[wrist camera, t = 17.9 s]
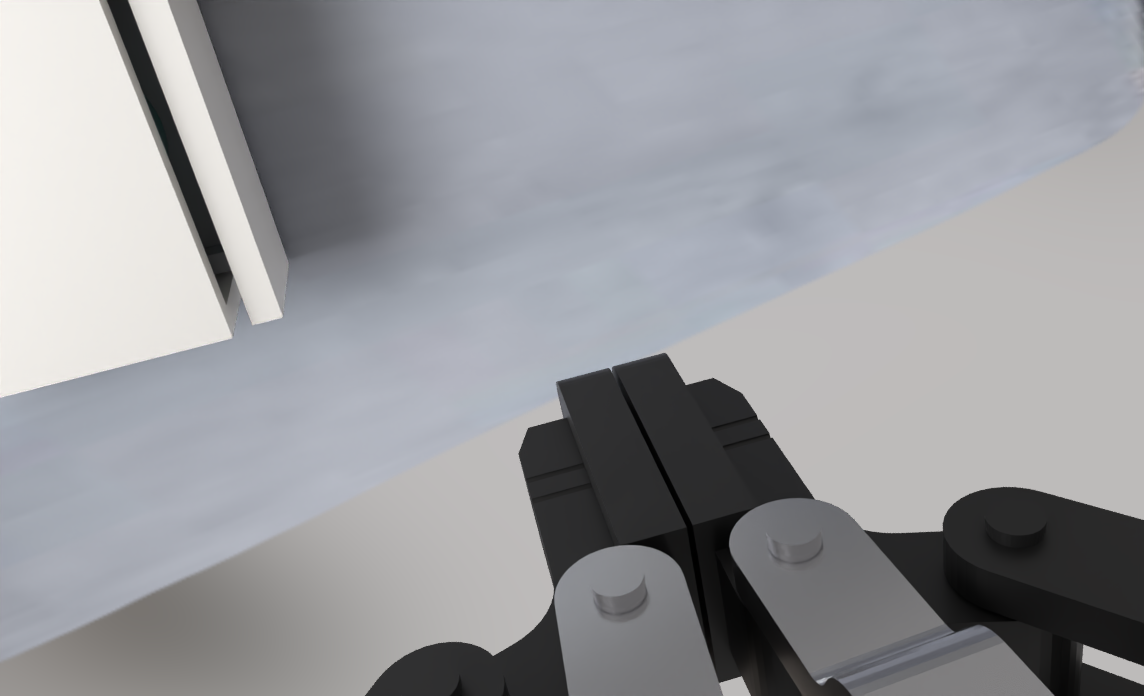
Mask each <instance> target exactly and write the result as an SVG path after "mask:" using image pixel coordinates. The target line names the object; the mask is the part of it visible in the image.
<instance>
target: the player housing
mask: <svg viewBox="0 0 1144 696" xmlns="http://www.w3.org/2000/svg"><path fill="white" fill-rule="evenodd" d="M240 300H241V294H240V292H239V289H238V286H237V284H236V281H235V278H234V276H233V273H232V271H227V272H223V273H219V274H215V275H214V273H213V270H212V268H211V265H210V262H209V260H208V257H207V255H206V252H205V250H204V247H203V245H202V242H201V239H200V237H199V234H198V232H197V229H196V227H195V224H194V222H193V219H192V217H191V214H190V211H189V209H188V206H187V204H186V201H185V199H184V196H183V194H182V191H181V188H180V186H179V183H178V181H177V178H176V176H175V173H174V171H173V168H172V166H171V163H170V160H169V158H168V155H167V153H166V150H165V148H164V145H163V143H162V140H161V138H160V135H159V132H158V130H157V127H156V125H155V122H154V120H153V117H152V115H151V112H150V109H149V107H148V104H147V102H146V99H145V97H144V94H143V92H142V89H141V87H140V84H139V81H138V79H137V76H136V74H135V71H134V69H133V66H132V64H131V61H130V58H129V56H128V53H127V51H126V48H125V46H124V43H123V41H122V38H121V36H120V33H119V30H118V28H117V25H116V23H115V20H114V18H113V15H112V13H111V10H110V8H109V5H108V2H107V0H0V398H1V397H5V396H9V395H12V394H16V393H20V392H24V391H28V390H32V389H36V388H40V387H44V386H48V385H52V384H56V383H59V382H63V381H67V380H71V379H75V378H79V377H83V376H87V375H91V374H95V373H99V372H102V371H106V370H110V369H114V368H118V367H122V366H126V365H130V364H134V363H138V362H142V361H146V360H149V359H153V358H157V357H161V356H165V355H169V354H173V353H177V352H181V351H185V350H189V349H192V348H196V347H200V346H204V345H208V344H212V343H216V342H220V341H224V340H228V339H232V338H233V334H234V330H235V325H236V320H237V315H238V310H239V305H240Z"/></svg>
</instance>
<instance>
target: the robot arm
mask: <svg viewBox="0 0 1144 696" xmlns="http://www.w3.org/2000/svg"><path fill="white" fill-rule="evenodd" d="M556 385H557V391H558V396H559V401H560V405H561V409H562V413H563V418H564V419H560V420H556V421H552V422H549V423H546V424H541V425H538V426H534V427H530V428H528V430H527V432H526V435H525V438H524V441H523V444H522V446H521V449H520V451H519V458H520V461H521V465H522V469H523V473H524V477H525V481H526V485H527V489H528V492H529V496H530V500H531V504H532V508H533V511H534V516H535V520H536V523H537V527H538V531H539V535H540V539H541V543H542V546H543V550H544V554H545V557H546V561H547V565H548V568H549V572H550V575H551V579H552V583H553V586H554V595H553V599H552V603H551V605H550V607H549V609H548V612H547V613H546V615H545V616H544V618H543V619H542V621H541V622H540V623H539V624H538V625H537V626H536V627H535V628H534V630H532V631H531V632H530V633H529V634H527V635H526V636H525V637H524V638H522V639H521V640H519V641H518V642H516V643H515V644H513V645H512V646H510V647H508V648H506V649H505V650H503V651H501V652H499V653H498V654H496V655H494V656H492V655H491V654H490V653H489V652H488V651H486V650H484V649H482V648H481V647H478V646H475V645H472V644H468V643H462V642H446V643H438V644H434V645H430V646H426V647H423V648H421V649H418V650H416V651H414V652H412V653H410V654H408V655H406V656H404V657H403V658H401V659H400V660H398V661H397V662H395V663H394V664H393V665H392V666H390V667H389V668H388V669H387V670H386V671H385V672H384V673H383V674H382V675H381V676H380V677H379V679H378V680H377V681H376V682H375V684H374V685H373V686H372V688H371V689H370V690H369V691H368V693H367V694H366V695H365V696H723V694H722V691H721V688H720V685H719V683H720V682H724V681H727V680H730V679H733V678H737V677H741V676H742V677H743V680H744V682H745V684H746V686H747V688H748V690H749V693H750V694H751V696H1144V685H1141V684H1139V683H1136V682H1134V681H1131V680H1128V679H1125V678H1123V677H1120V676H1117V675H1115V674H1112V673H1109V672H1107V671H1104V670H1101V669H1098V668H1095V667H1093V666H1090V665H1087V664H1085V663H1082V655H1083V644H1084V645H1087V646H1089V647H1092V648H1095V649H1098V650H1100V651H1103V652H1106V653H1109V654H1112V655H1114V656H1117V657H1120V658H1123V659H1126V660H1128V661H1132V662H1134V663H1137V664H1140V665H1142V666H1144V520H1141V519H1137V518H1134V517H1131V516H1127V515H1123V514H1120V513H1116V512H1112V511H1109V510H1105V509H1101V508H1098V507H1094V506H1091V505H1087V504H1084V503H1080V502H1076V501H1073V500H1069V499H1065V498H1062V497H1058V496H1055V495H1051V494H1047V493H1043V492H1040V491H1035V490H1031V489H1024V488H1016V487H1001V488H991V489H985V490H980V491H977V492H974V493H972V494H969V495H967V496H965V497H963V498H961V499H960V500H958V501H957V502H956V503H954V504H953V505H952V506H951V507H950V509H949V510H948V511H947V513H946V515H945V517H944V522H943V531H941V532H919V533H879V532H871V531H866V530H863V529H862V528H861V527H860V526H859V525H858V523H857V522H856V521H855V520H854V519H853V518H852V517H851V516H850V515H849V514H848V513H846V512H845V511H843V510H842V509H840V508H839V507H836V506H834V505H832V504H830V503H826V502H823V501H819V500H815V499H814V497H813V496H812V494H811V493H810V491H809V490H808V489H807V487H806V486H805V484H804V483H803V481H802V480H801V478H800V477H799V476H798V474H797V473H796V471H795V470H794V468H793V467H792V465H791V464H790V462H789V461H788V460H787V458H786V457H785V455H784V454H783V452H782V451H781V450H780V448H779V446H778V445H777V444H776V442H775V441H774V439H773V438H770V435H769V432H768V431H767V429H766V428H765V426H764V425H763V423H762V422H761V420H758V418H757V415H756V413H755V412H754V410H753V409H752V407H751V406H750V404H749V403H748V402H747V400H746V399H745V397H744V396H743V394H742V393H740V392H739V391H737V390H735V389H733V388H731V387H729V386H727V385H726V384H723V383H722V382H720V381H718V380H716V379H714V378H712V379H708V380H704V381H701V382H697V383H693V384H689V385H685V383H684V382H683V380H682V378H681V377H680V375H679V373H678V372H677V370H676V368H675V367H674V365H673V363H672V362H671V360H670V358H669V357H668V355H667V354H666V353H662V354H659V355H655V356H651V357H647V358H644V359H640V360H636V361H632V362H628V363H625V364H621V365H617V366H613V367H612V372H611V370H610V369H609V368H607V369H603V370H599V371H595V372H592V373H588V374H584V375H580V376H577V377H573V378H569V379H565V380H562V381H558V382H556Z"/></svg>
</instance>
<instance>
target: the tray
mask: <svg viewBox="0 0 1144 696" xmlns="http://www.w3.org/2000/svg"><path fill="white" fill-rule="evenodd" d="M107 2H108V5H109V8H110V10H111V13H112V15H113V18H114V20H115V23H116V25H117V28H118V30H119V33H120V36H121V38H122V41H123V43H124V46H125V48H126V51H127V53H128V56H129V58H130V61H131V64H132V66H133V69H134V71H135V74H136V76H137V79H138V81H139V84H140V87H141V89H142V92H143V94H144V95H145V96H146V97H147V98H148V100H149V101H150V103H151V104H152V106H153V107H154V109H155V110H156V112H157V114H158V116H159V118H160V120H161V122H162V125H163V128H164V130H165V133H166V138H167V142H168V150H169V160H170V163H171V166H172V168H173V171H174V173H175V176H176V178H177V181H178V183H179V186H180V188H181V191H182V194H183V196H184V199H185V201H186V204H187V206H188V209H189V211H190V214H191V217H192V219H193V222H194V224H195V227H196V229H197V232H198V234H199V237H200V239H201V242H202V245H203V247H204V250H205V252H206V255H207V257H208V260H209V262H210V265H211V268H212V270H213V273H214V275H215V274H219V273H223V272H227V271H232V273H233V276H234V278H235V281H236V284H237V286H238V289H239V292H240V294H241V297H242V299H243V302H244V305H245V307H246V310H247V312H248V315H249V318H250V320H251V323H252V325H256V324H260V323H264V322H268V321H272V320H276V319H279V318H283V314H284V305H285V296H286V287H287V277H288V268H289V262H288V259H287V256H286V254H285V251H284V248H283V245H282V242H281V239H280V236H279V234H278V231H277V228H276V225H275V222H274V219H273V217H272V214H271V211H270V208H269V205H268V202H267V199H266V197H265V194H264V191H263V188H262V185H261V182H260V180H259V177H258V174H257V171H256V168H255V165H254V162H253V160H252V157H251V154H250V151H249V148H248V145H247V143H246V140H245V137H244V134H243V131H242V128H241V125H240V123H239V120H238V117H237V114H236V111H235V108H234V106H233V103H232V100H231V97H230V94H229V91H228V88H227V86H226V83H225V80H224V77H223V74H222V71H221V69H220V66H219V63H218V60H217V57H216V54H215V51H214V49H213V46H212V43H211V40H210V37H209V34H208V32H207V29H206V26H205V23H204V20H203V17H202V15H201V12H200V9H199V6H198V3H197V0H107Z"/></svg>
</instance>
